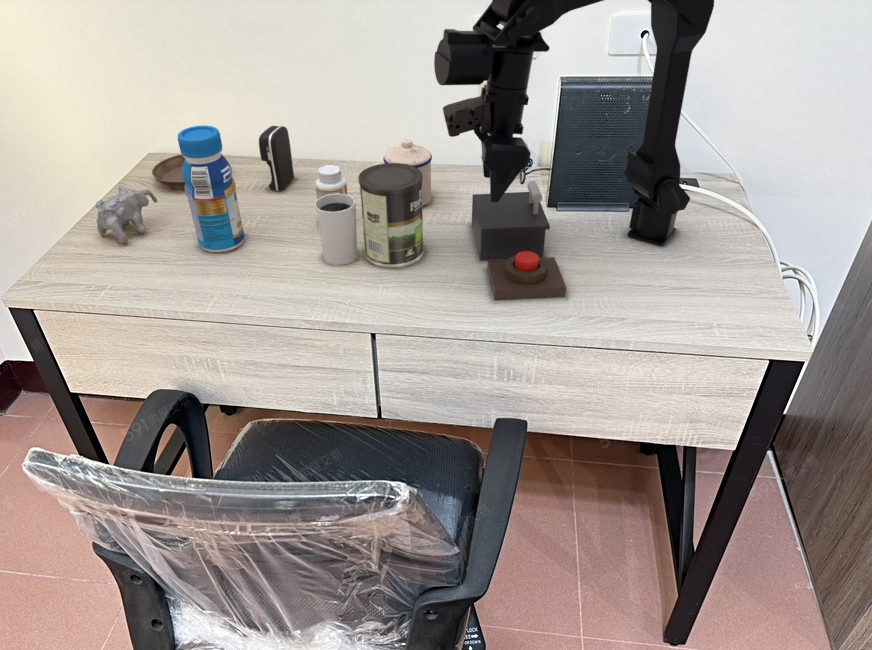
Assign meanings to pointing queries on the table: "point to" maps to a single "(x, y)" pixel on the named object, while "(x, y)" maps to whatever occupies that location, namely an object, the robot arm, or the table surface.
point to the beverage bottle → (210, 189)
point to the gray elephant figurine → (122, 212)
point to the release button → (526, 261)
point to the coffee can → (392, 214)
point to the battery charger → (277, 156)
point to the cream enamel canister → (413, 163)
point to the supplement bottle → (330, 181)
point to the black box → (506, 241)
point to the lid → (511, 211)
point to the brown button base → (525, 280)
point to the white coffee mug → (337, 228)
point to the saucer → (170, 172)
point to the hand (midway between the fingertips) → (490, 189)
